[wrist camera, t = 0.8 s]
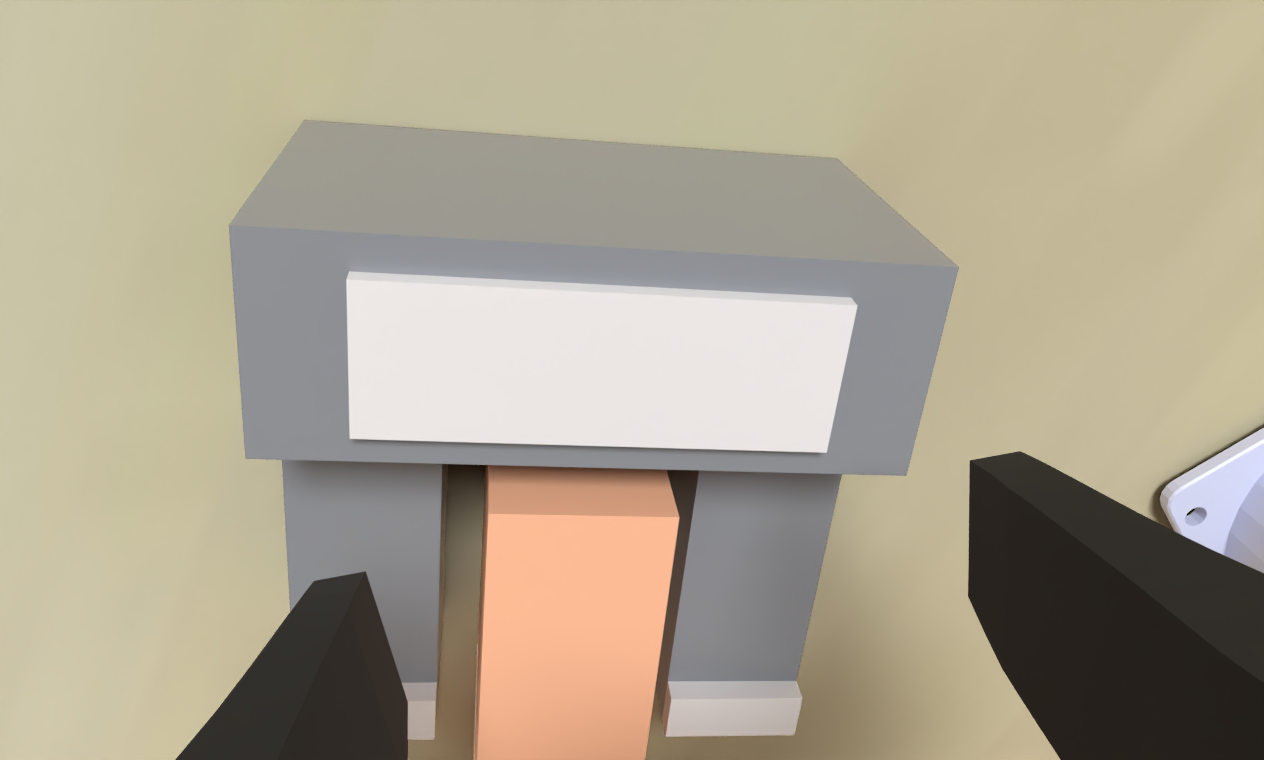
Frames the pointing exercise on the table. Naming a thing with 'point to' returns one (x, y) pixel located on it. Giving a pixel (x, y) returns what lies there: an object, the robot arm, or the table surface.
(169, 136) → the table surface
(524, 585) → the salmon long block
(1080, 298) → the table surface
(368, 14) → the table surface
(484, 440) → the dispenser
